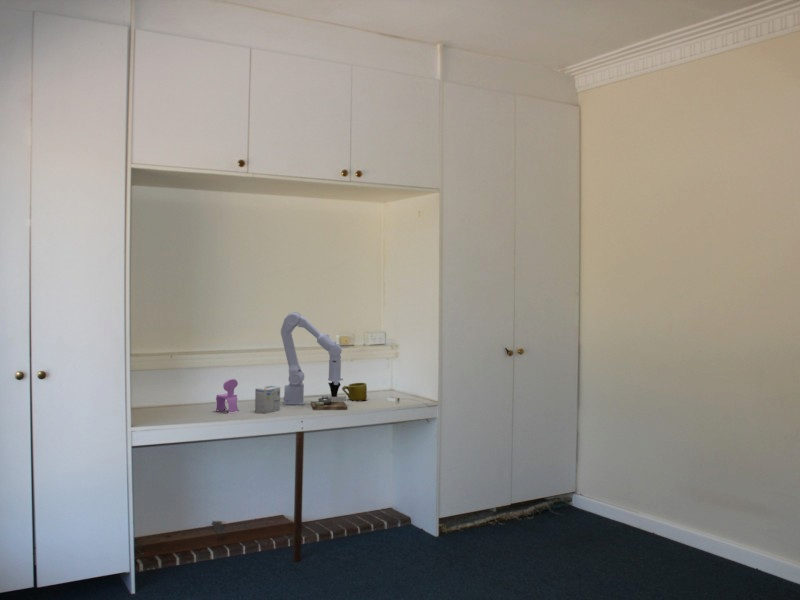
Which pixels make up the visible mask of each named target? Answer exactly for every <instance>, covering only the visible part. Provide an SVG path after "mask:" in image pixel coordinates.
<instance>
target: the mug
mask: <svg viewBox="0 0 800 600" xmlns="http://www.w3.org/2000/svg"><path fill="white" fill-rule="evenodd" d="M341 390H342V392H344V393H345V394H346V397H347V398H348V399H349V400H350V401H354V402H355V401H356V402H357V401H358V402H363V401H366V400H367V397H368V395H367V392H368V391H367V390H368V388H367V383H365V382H354V383H350V384H348V385H343V386H342V387H341ZM346 390H347V391H346Z"/></svg>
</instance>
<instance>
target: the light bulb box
mask: <svg viewBox="0 0 800 600" xmlns="http://www.w3.org/2000/svg"><path fill="white" fill-rule="evenodd" d="M254 395H255V396H254V397H255V398H254V412H255V411H256V413H261V412H262V413H263V414H267V413H271V412H275V411H279V410H280V409H281V386H275V385H267V386H262V387H256V388H255V390H254Z"/></svg>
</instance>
